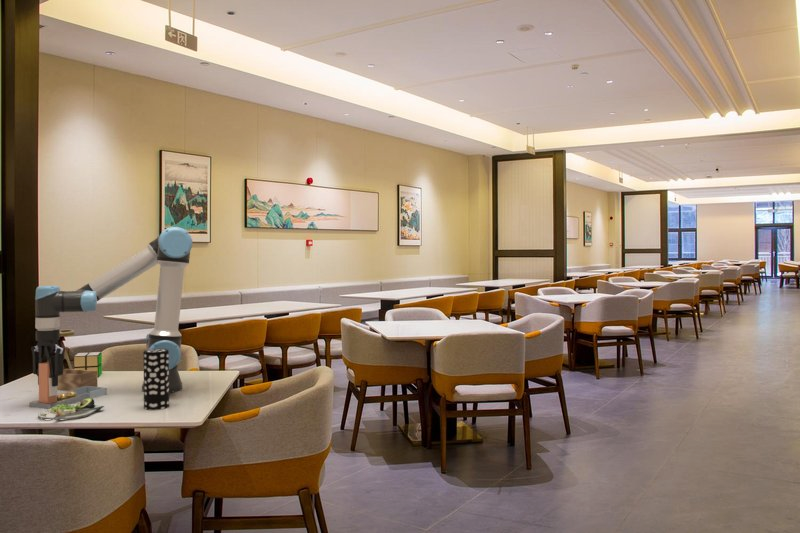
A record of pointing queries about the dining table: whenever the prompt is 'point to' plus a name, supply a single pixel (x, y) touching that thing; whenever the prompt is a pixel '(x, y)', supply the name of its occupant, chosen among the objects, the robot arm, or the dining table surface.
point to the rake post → (45, 384)
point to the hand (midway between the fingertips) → (48, 394)
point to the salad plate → (72, 410)
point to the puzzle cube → (88, 362)
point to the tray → (91, 391)
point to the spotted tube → (156, 379)
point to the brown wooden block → (76, 379)
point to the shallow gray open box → (58, 402)
